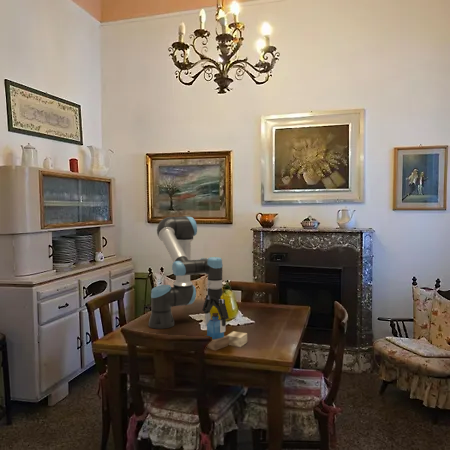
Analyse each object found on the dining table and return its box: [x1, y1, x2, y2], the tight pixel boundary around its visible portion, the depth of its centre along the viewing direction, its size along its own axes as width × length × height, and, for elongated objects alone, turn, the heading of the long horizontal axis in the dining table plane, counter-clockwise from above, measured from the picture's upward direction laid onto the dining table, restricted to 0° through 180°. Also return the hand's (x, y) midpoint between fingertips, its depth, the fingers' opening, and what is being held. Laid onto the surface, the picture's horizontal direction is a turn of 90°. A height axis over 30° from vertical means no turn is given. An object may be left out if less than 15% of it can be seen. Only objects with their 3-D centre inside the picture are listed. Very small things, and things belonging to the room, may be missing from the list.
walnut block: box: [205, 334, 230, 351], centre depth 221 cm, size 10×10×5 cm
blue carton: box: [206, 312, 225, 339], centre depth 220 cm, size 6×6×12 cm
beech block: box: [226, 330, 248, 348], centre depth 224 cm, size 8×8×5 cm
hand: (215, 328), depth 220 cm, fingers open, 13 cm apart
